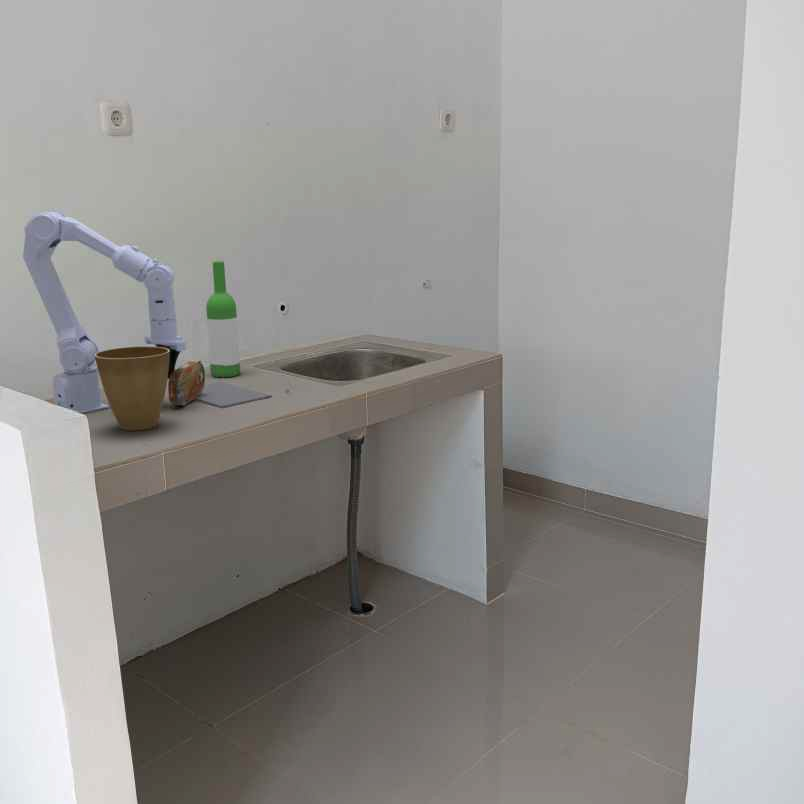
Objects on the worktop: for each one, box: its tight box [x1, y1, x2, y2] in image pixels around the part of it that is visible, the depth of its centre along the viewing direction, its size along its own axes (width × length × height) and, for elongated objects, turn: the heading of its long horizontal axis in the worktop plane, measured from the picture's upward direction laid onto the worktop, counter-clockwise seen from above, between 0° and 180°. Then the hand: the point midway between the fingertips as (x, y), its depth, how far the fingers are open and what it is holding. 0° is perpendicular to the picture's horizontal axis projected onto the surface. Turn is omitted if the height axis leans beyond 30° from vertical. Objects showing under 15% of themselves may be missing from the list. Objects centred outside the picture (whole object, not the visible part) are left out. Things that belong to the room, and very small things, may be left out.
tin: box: [167, 361, 206, 407], centre depth 200 cm, size 15×3×8 cm, turn 168°
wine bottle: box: [205, 260, 241, 378], centre depth 226 cm, size 8×8×30 cm
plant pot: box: [94, 345, 170, 432], centre depth 180 cm, size 15×15×16 cm
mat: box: [193, 381, 273, 409], centre depth 208 cm, size 14×22×1 cm, turn 45°
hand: (167, 378), depth 197 cm, fingers closed
